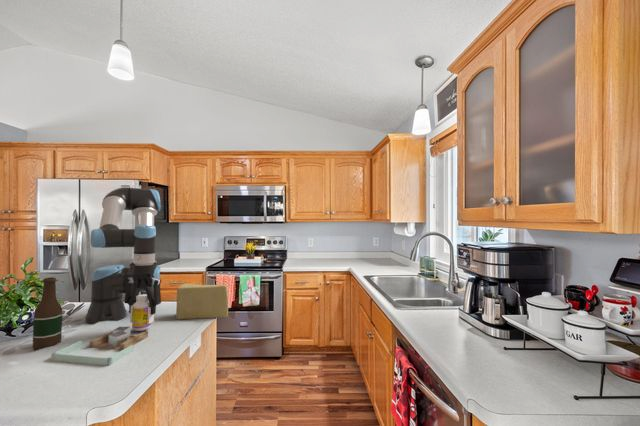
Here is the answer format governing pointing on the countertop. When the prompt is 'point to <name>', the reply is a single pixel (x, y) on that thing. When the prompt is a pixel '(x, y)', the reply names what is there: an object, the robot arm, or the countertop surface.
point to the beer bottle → (47, 318)
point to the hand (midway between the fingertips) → (142, 321)
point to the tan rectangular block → (202, 301)
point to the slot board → (103, 344)
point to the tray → (64, 356)
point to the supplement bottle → (140, 313)
